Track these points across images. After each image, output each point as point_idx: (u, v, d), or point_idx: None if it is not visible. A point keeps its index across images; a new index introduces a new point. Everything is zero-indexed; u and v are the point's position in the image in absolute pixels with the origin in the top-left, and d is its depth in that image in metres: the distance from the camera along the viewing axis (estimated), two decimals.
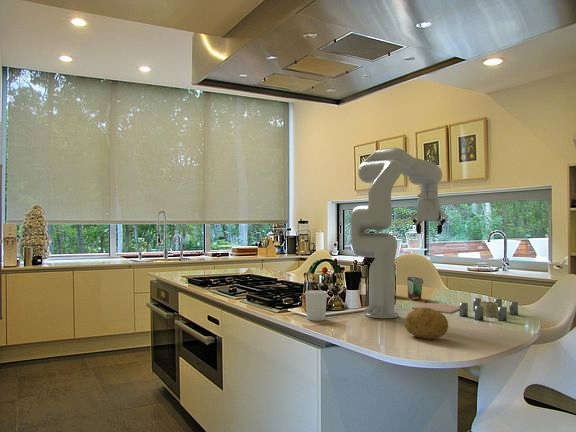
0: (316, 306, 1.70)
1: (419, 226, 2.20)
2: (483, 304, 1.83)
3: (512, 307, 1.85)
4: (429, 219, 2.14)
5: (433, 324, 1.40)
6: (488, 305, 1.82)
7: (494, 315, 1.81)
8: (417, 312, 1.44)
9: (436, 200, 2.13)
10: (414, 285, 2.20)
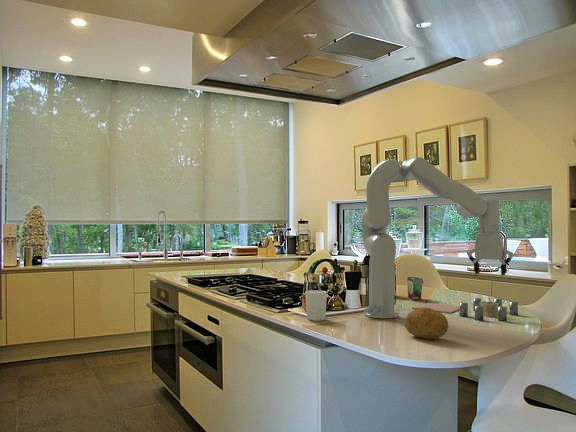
0: (316, 306, 1.70)
1: (477, 265, 1.87)
2: (483, 304, 1.83)
3: (512, 307, 1.85)
4: (491, 258, 1.82)
5: (433, 324, 1.40)
6: (488, 305, 1.82)
7: (494, 315, 1.81)
8: (417, 312, 1.44)
9: (499, 235, 1.81)
10: (414, 285, 2.20)
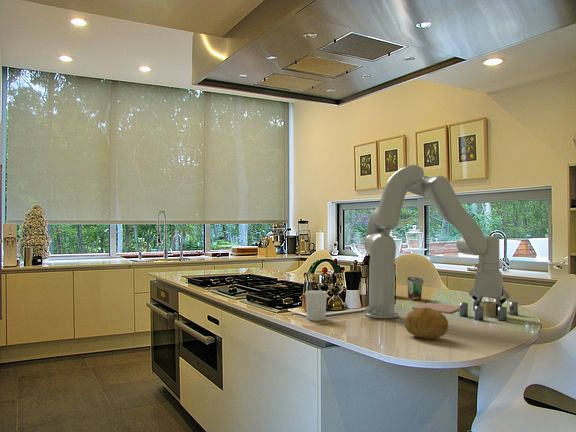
0: (316, 306, 1.70)
1: None
2: (483, 304, 1.83)
3: (512, 307, 1.85)
4: (490, 296, 1.82)
5: (433, 324, 1.40)
6: (488, 305, 1.82)
7: (494, 315, 1.81)
8: (417, 312, 1.44)
9: (499, 274, 1.81)
10: (414, 285, 2.20)
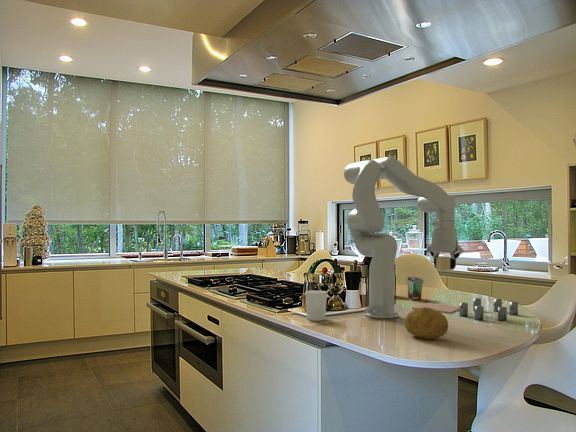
0: (316, 306, 1.70)
1: None
2: (439, 258, 1.96)
3: (512, 307, 1.85)
4: (445, 250, 1.95)
5: (433, 324, 1.40)
6: (443, 259, 1.95)
7: (448, 268, 1.94)
8: (417, 312, 1.44)
9: (453, 230, 1.94)
10: (414, 285, 2.20)
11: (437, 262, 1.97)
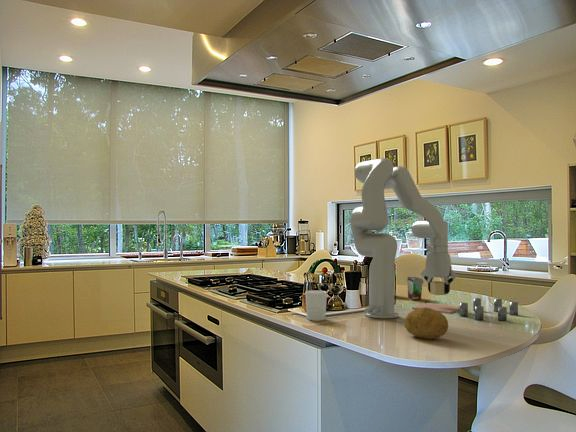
0: (316, 306, 1.70)
1: None
2: (433, 283, 1.98)
3: (512, 307, 1.85)
4: (439, 276, 1.97)
5: (433, 324, 1.40)
6: (437, 284, 1.97)
7: (443, 293, 1.96)
8: (417, 312, 1.44)
9: (446, 255, 1.96)
10: (414, 285, 2.20)
11: (431, 287, 1.99)
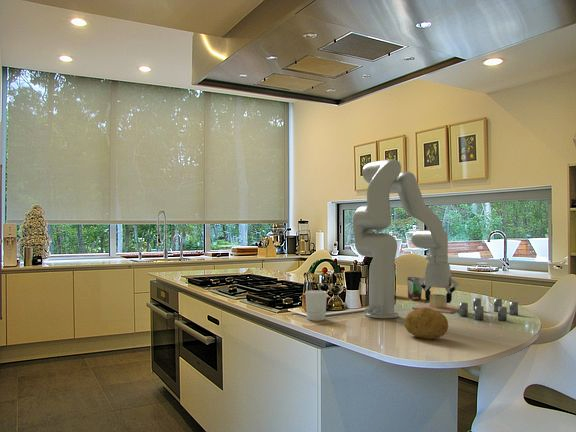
0: (316, 306, 1.70)
1: (428, 292, 2.02)
2: (432, 296, 1.98)
3: (512, 307, 1.85)
4: (438, 286, 1.96)
5: (433, 324, 1.40)
6: (437, 297, 1.96)
7: (442, 306, 1.96)
8: (417, 312, 1.44)
9: (446, 265, 1.95)
10: (414, 285, 2.20)
11: (431, 300, 1.99)
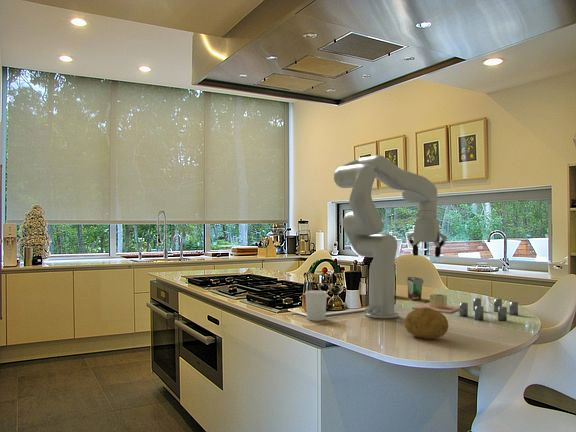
0: (316, 306, 1.70)
1: (416, 247, 2.03)
2: (432, 296, 1.98)
3: (512, 307, 1.85)
4: (426, 240, 1.97)
5: (433, 324, 1.40)
6: (437, 297, 1.96)
7: (442, 306, 1.96)
8: (417, 312, 1.44)
9: (434, 220, 1.96)
10: (414, 285, 2.20)
11: (431, 300, 1.99)
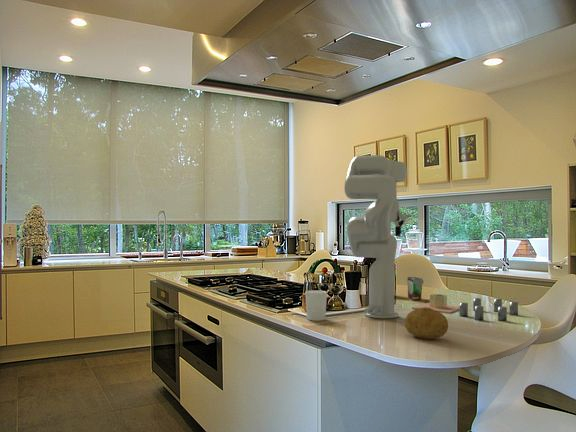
0: (316, 306, 1.70)
1: None
2: (432, 296, 1.98)
3: (512, 307, 1.85)
4: None
5: (433, 324, 1.40)
6: (437, 297, 1.96)
7: (442, 306, 1.96)
8: (417, 312, 1.44)
9: (394, 200, 1.99)
10: (414, 285, 2.20)
11: (431, 300, 1.99)
